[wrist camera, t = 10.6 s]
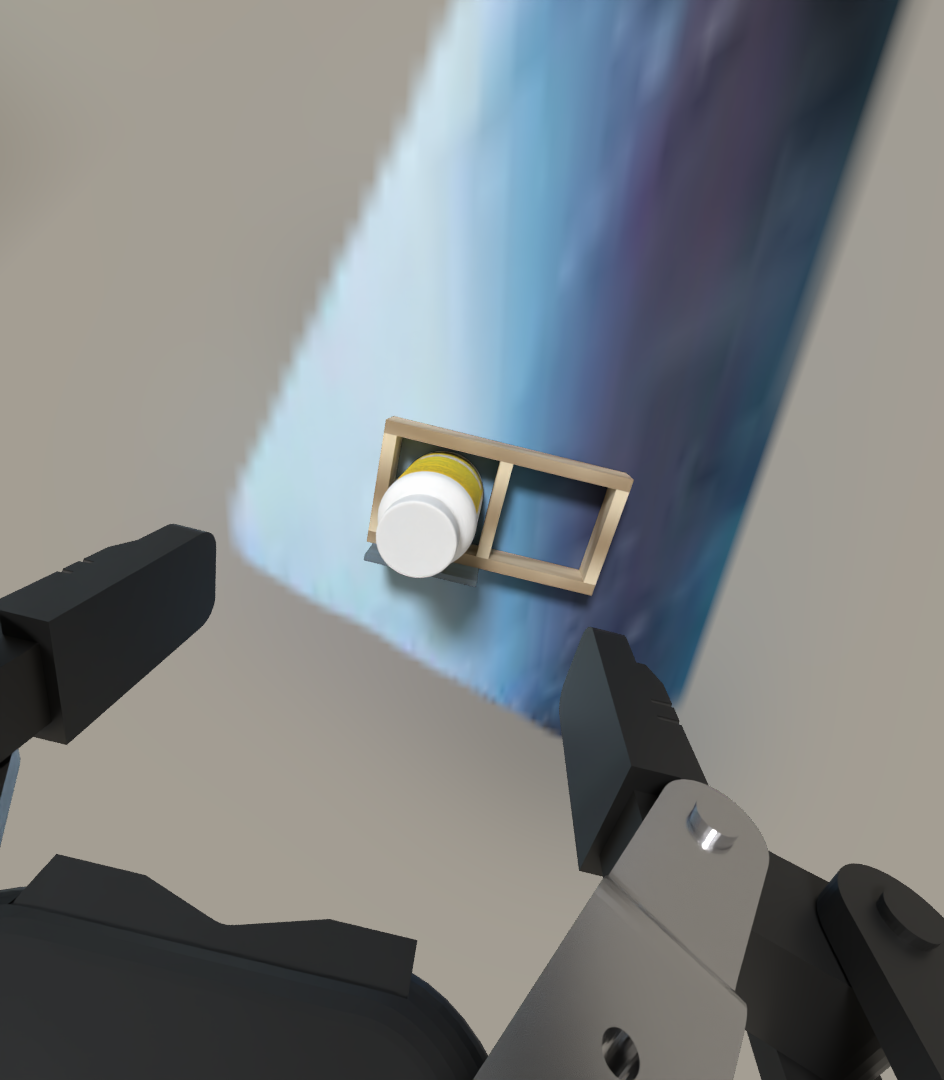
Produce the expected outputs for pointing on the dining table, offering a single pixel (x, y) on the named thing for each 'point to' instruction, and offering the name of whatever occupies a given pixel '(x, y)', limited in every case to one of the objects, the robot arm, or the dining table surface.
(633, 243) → the dining table surface
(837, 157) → the dining table surface
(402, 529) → the supplement bottle
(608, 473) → the rack
